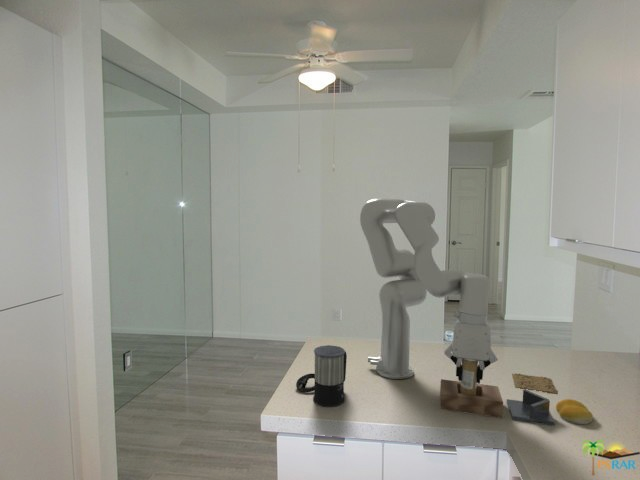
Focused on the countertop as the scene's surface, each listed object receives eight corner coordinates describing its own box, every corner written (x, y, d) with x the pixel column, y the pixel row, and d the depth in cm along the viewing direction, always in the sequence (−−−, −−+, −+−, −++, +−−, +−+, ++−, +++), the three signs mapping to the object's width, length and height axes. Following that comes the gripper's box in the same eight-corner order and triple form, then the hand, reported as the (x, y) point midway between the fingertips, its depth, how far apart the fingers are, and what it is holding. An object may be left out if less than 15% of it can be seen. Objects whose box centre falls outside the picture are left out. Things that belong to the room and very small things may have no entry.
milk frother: (342, 409, 113) (343, 357, 112) (287, 403, 116) (287, 352, 115) (348, 387, 127) (349, 341, 126) (299, 382, 130) (300, 337, 129)
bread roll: (563, 423, 108) (564, 409, 107) (552, 407, 116) (553, 394, 116) (598, 428, 106) (599, 413, 105) (585, 411, 114) (586, 397, 114)
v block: (512, 420, 109) (513, 403, 108) (506, 401, 119) (507, 387, 118) (554, 426, 106) (555, 409, 106) (544, 407, 116) (545, 391, 116)
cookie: (511, 374, 140) (511, 371, 140) (551, 380, 135) (551, 377, 135) (514, 388, 128) (514, 385, 128) (558, 395, 124) (558, 392, 124)
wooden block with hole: (440, 409, 114) (441, 393, 114) (440, 393, 124) (440, 379, 123) (502, 418, 110) (503, 401, 109) (497, 401, 119) (497, 386, 119)
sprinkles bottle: (479, 398, 116) (482, 352, 115) (469, 402, 114) (472, 355, 112) (465, 391, 120) (468, 347, 119) (455, 395, 118) (458, 350, 116)
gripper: (441, 318, 113) (438, 381, 115) (507, 325, 109) (502, 390, 111) (441, 311, 121) (438, 371, 122) (503, 317, 116) (498, 379, 118)
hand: (468, 379), depth 116 cm, fingers closed on sprinkles bottle, 4 cm apart
